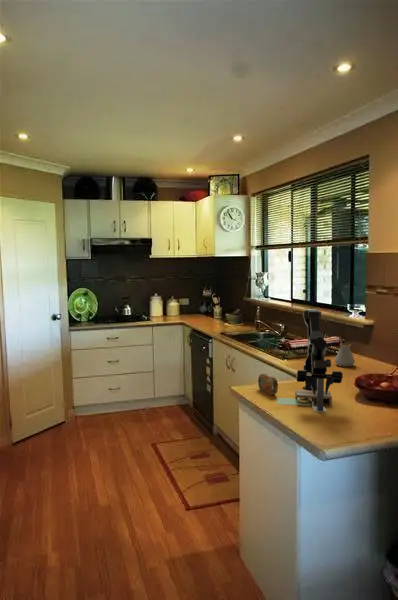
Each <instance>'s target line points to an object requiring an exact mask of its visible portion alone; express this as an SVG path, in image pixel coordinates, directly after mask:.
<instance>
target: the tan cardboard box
mask: <svg viewBox="0 0 398 600" xmlns="http://www.w3.org/2000/svg"><path fill="white" fill-rule="evenodd" d="M299 398H309V399H311V398H313V400H317V390H315V395H314V393H313V391H312V390H308V389H304V390H303V389H295V397H294V399H299ZM323 401H327V402H328V404H329V406H333V396H332V394H331V392H330V391H329V390H328V392H327V395H326V393H325V390H324V397H323Z"/></svg>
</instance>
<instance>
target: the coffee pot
mask: <svg viewBox="0 0 398 600" xmlns="http://www.w3.org/2000/svg"><path fill="white" fill-rule="evenodd" d="M338 340H339V342H340V343H339V346H340V348H339V350H338V352H337V355H336V356H335V358H334V362H335V364H337V366H338V365H340V366H339V367H342V366H351V367H352V366H353V365H354V364H355V362H356V361H355V358H354V355H353V353H352V351H351V349H350V347H351V346H352V344H351V343H344V342H343V340H342V337H341V336H338Z"/></svg>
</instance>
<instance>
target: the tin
mask: <svg viewBox="0 0 398 600" xmlns="http://www.w3.org/2000/svg"><path fill="white" fill-rule="evenodd" d="M257 384H258V388H259V390H260V391H261V392H263V393H265V394H267V395H268V396H274V395H276V394H277V393H278V389H279V383H278V380H277V379H276V377H274V376H271V375H269V374H267V373H260V374H259V376H258V379H257Z"/></svg>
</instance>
